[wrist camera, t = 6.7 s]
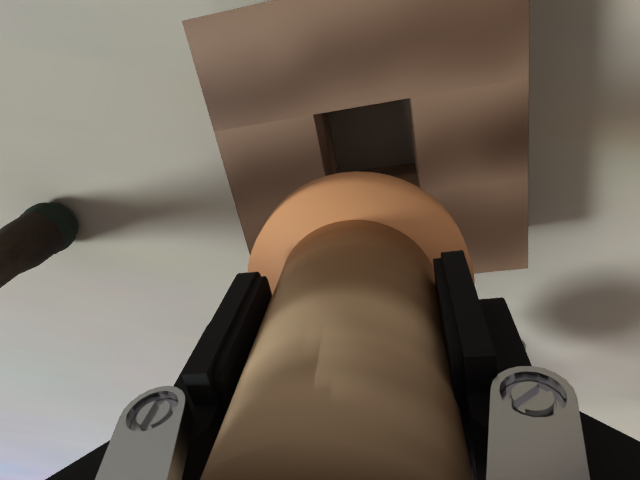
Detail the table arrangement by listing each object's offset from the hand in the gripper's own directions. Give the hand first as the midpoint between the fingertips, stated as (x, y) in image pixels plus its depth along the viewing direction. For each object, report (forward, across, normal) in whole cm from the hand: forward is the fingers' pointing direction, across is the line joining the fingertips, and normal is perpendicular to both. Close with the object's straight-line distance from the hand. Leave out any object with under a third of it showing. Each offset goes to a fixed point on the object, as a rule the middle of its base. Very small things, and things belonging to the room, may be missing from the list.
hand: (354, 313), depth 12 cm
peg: (+7, 0, 0) cm, 7 cm away
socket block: (+19, 0, 0) cm, 19 cm away
